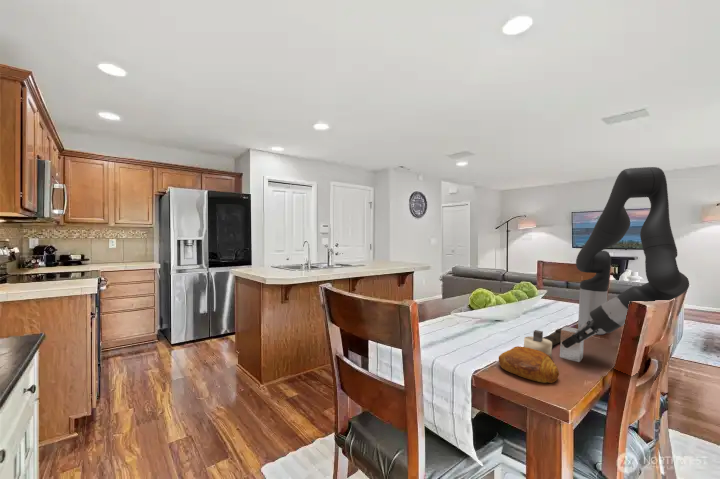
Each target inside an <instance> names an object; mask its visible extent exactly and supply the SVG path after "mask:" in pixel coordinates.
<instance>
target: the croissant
mask: <svg viewBox="0 0 720 479" xmlns="http://www.w3.org/2000/svg"><path fill="white" fill-rule="evenodd" d="M498 363H499V366H500V367H501V368H502V369H503V370H504V371H506V372H509V373H511V374H513V375H515V376H518V377H520V378H524V379H528V380H529V381H535V382H538V383H544V384H545V383H549V384H552V383H555V382H556V381H557V380H558V378H559V375H560V372H559V369H558V366H557V365H556V364H555V362H554V361H553V360H552V358H551V357H550V356H549V355H547V354H546V353H544V352H542V351H539V350H535V349H532V348H527V347H524V346H519V345H518V346H515V347H512V348H511V349H508V350H506V351H504V352H502V353H500V354H499V355H498Z"/></svg>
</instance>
